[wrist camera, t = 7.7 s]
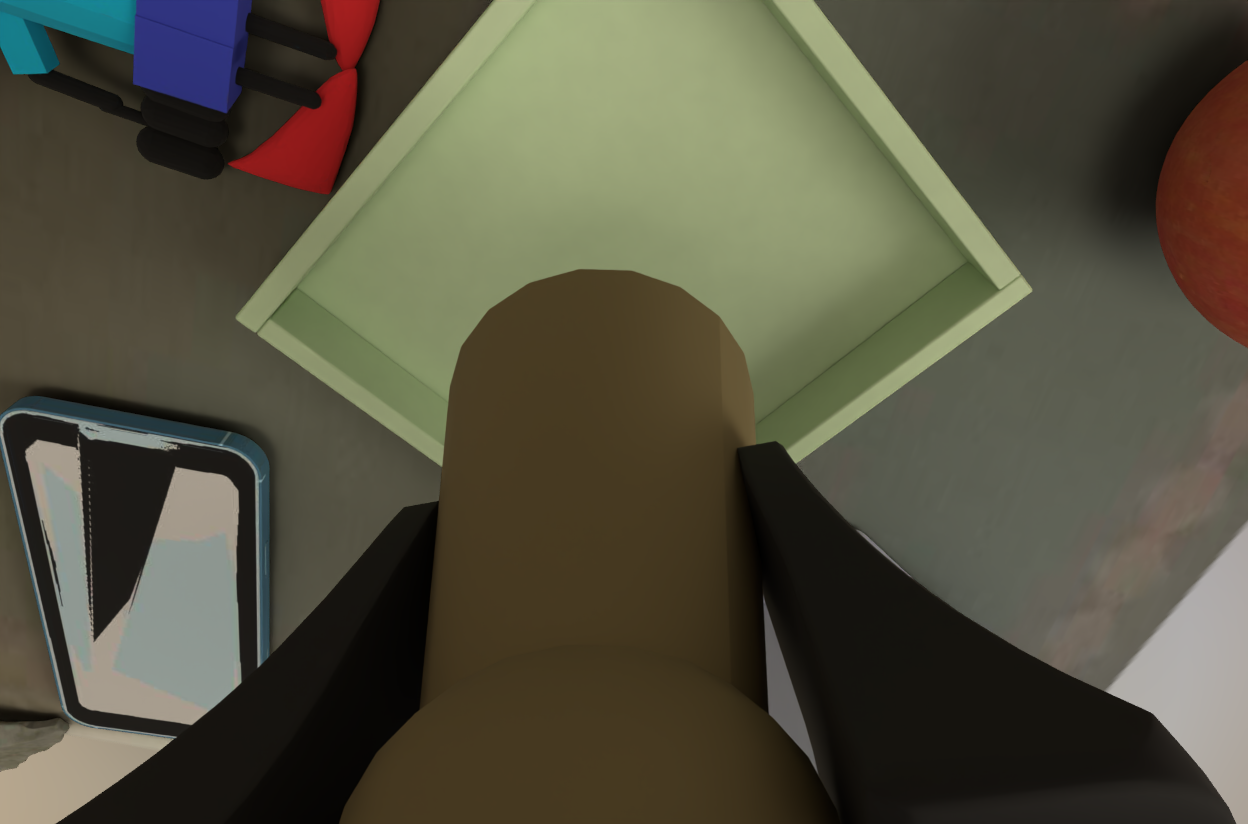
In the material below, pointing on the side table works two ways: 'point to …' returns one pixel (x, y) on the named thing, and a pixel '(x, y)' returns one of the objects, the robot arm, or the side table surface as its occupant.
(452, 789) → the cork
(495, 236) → the spice tray
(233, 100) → the toy figure
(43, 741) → the stone
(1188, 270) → the apple
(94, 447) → the smartphone
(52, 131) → the side table surface
